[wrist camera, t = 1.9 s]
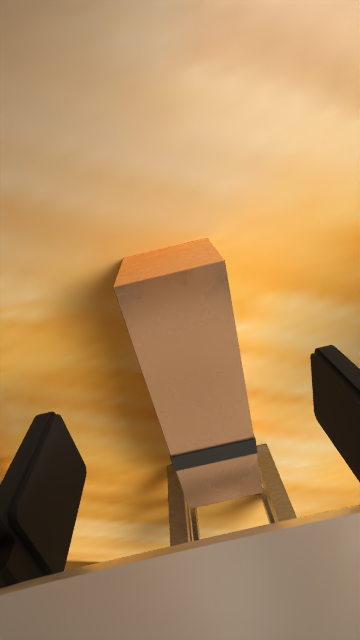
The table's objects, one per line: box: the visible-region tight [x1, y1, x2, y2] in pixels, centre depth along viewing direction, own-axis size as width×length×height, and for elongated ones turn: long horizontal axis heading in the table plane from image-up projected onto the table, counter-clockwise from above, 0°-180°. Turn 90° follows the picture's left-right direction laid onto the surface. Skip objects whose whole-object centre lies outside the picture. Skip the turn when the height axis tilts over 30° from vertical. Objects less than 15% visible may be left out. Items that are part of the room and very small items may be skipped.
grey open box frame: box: [167, 444, 297, 546], centre depth 23 cm, size 6×8×8 cm
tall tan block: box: [113, 238, 263, 509], centre depth 19 cm, size 16×5×5 cm, turn 13°
